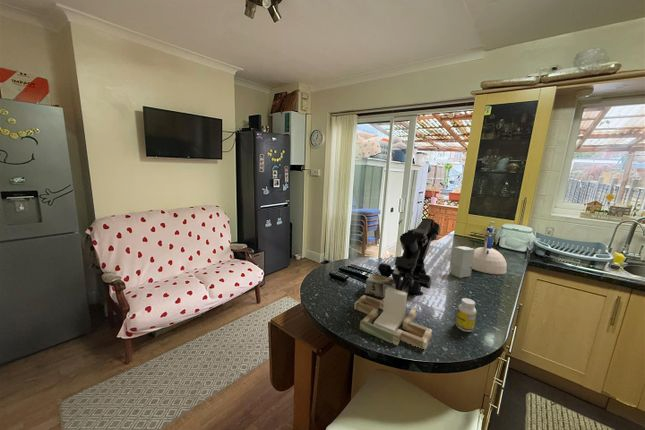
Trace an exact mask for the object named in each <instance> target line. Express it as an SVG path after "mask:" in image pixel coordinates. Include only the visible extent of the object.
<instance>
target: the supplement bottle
mask: <svg viewBox="0 0 645 430" xmlns="http://www.w3.org/2000/svg"><path fill="white" fill-rule="evenodd" d="M475 306H476V301H474V300H473V299H471V298H469V297H468V298H467V297H463V298H461V301H460V304H459V305H458V306H457V313H456V319H455V325H456V327H457V328H458V329H459V330H461V331H463V332H465V333H466V332H468V333H469V332H470V333H472V332H474V328H475V324H476V323H475V322H476V319H477V318H476V317H477V309H476V308H475Z"/></svg>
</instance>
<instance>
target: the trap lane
mask: <svg viewBox="0 0 645 430" xmlns="http://www.w3.org/2000/svg"><path fill="white" fill-rule="evenodd" d="M384 300H385V298H382V299H378V298H374V297H371V296H368V295H365V294H363V295H362V296H360V298H359V299H357V300H356V301H355V302H354V306H353V307H354V308H353V309H354V310H356V311H359V312H361V313H363V314H366V315H365V317H364V318H363V319H361V320H360V322H359V330H360V331H362V332H365V333H367V334H369V335H372V336H375V337H377V338H379V339H380V340H383V341H386V342H388V343H391V344H392V343H393V345H395V346H399V344H400V342H404V343H405V342H406V344H407V345H410V344H411V345H410V346H413V347H415V346H416V347H415V348H417V347H419V348H418V349H420V348H421V349H420V350H422V349H424V350H423V351H426V350H427V348H428V346H429V343H430V340H431V338H432V334H433V333H432V332H433V330H432V329H431V328H428V327H426V326H424V325H420V324H418V323H415V322H413V321H414V319H415V318H416V316H417V315H418V314H417V312H418V308H416V307H412V308H411V309H410V311H409V313H408V314H407V316H405V319H404V321H403V322H402V329H403V330H402V329H399V328H398V329H397V331H396V332H395V333H393V332H391V331H388V330H386V329H384V328H381V327H379V326H376V325H374V321H375V320H376V319H377V318H378V317H379V309H380V310H384ZM404 330H406V331H404ZM400 340H401V341H400ZM425 349H426V350H425Z"/></svg>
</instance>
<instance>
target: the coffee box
mask: <svg viewBox="0 0 645 430" xmlns="http://www.w3.org/2000/svg"><path fill="white" fill-rule="evenodd" d="M402 280H403V279H401V281H402ZM387 287H390V288H393V289H395V281H394V280H393V277H392V276H390V277H386V276H382V275H381V274H378V273H373V272H371V275H369V277H367V278H366V280H365V288H364V290H365V291H364V293H365V294H367V295H370V296H375V297H377V298H381V299H384V298H385V289H386V288H387ZM403 292H406V293H407V297H409V294H408V292H409V287H408V288H407V289H406V290H404V291H403Z"/></svg>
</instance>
